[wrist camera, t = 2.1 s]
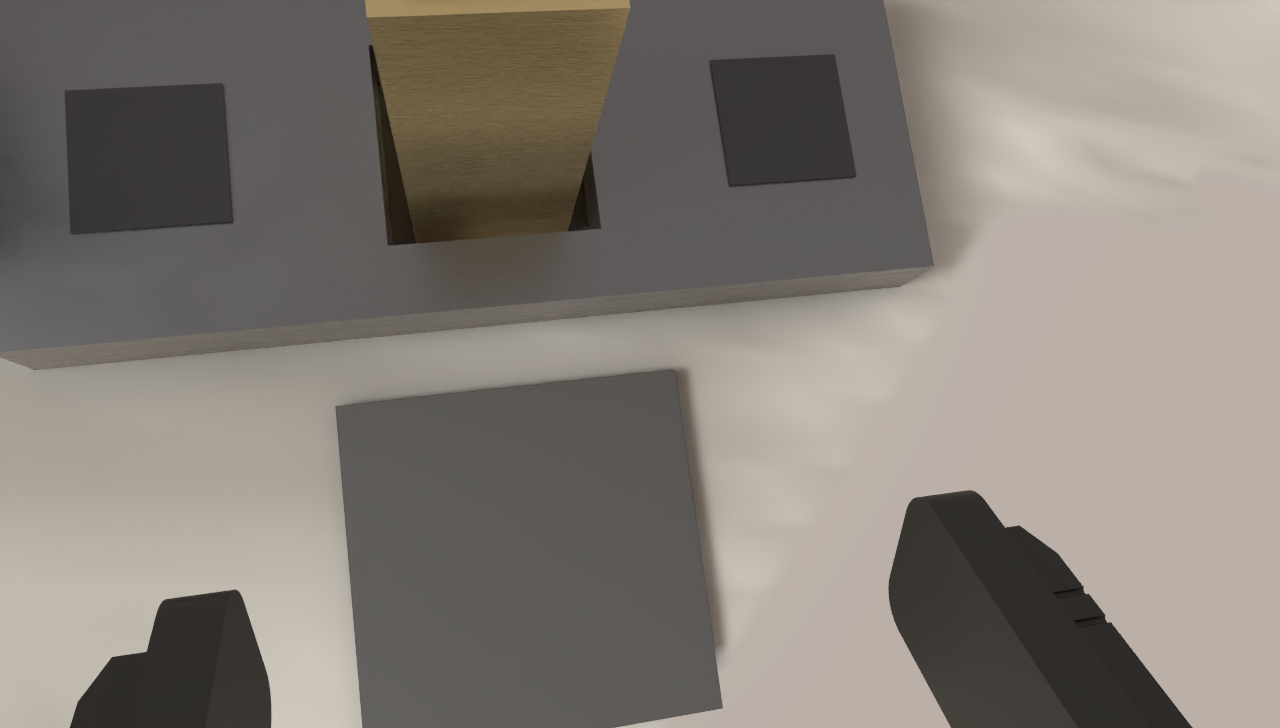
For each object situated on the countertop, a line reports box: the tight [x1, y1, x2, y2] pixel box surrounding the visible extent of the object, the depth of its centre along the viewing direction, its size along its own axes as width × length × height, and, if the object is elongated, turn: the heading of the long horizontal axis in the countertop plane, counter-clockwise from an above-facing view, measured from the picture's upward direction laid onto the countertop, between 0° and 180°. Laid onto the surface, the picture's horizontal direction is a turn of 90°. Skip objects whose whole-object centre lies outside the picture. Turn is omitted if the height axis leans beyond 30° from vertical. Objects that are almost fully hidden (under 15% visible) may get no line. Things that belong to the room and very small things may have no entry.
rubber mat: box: [336, 370, 723, 728], centre depth 27 cm, size 10×10×1 cm
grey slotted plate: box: [0, 0, 934, 370], centre depth 28 cm, size 26×10×2 cm, turn 98°
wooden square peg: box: [365, 0, 630, 244], centre depth 23 cm, size 5×5×14 cm
